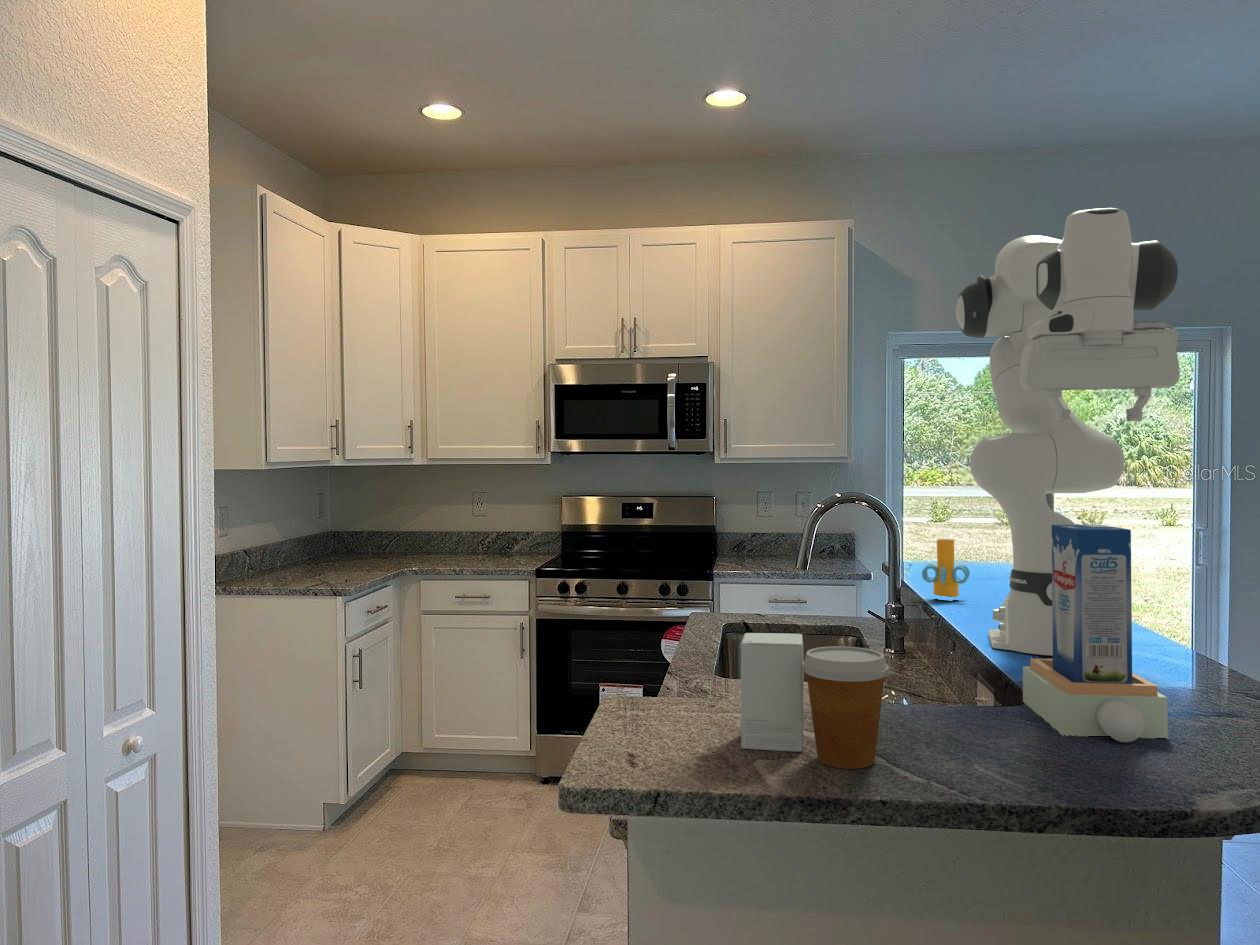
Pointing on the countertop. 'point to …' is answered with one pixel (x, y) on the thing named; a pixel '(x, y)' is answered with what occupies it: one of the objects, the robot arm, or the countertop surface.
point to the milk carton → (1092, 603)
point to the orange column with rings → (945, 570)
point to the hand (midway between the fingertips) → (1098, 421)
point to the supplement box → (772, 691)
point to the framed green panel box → (1095, 705)
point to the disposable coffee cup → (845, 703)
